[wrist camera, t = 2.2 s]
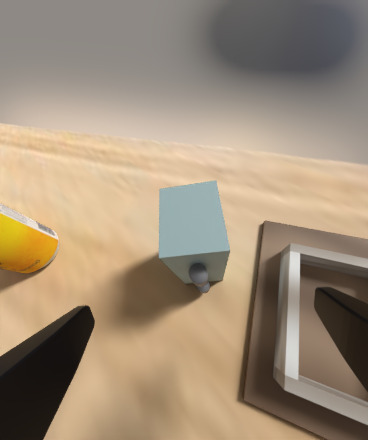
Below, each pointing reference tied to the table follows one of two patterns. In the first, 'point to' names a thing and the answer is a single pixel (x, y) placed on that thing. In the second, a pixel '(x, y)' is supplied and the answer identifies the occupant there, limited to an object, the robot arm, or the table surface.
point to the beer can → (25, 242)
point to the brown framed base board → (305, 332)
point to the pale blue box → (193, 233)
